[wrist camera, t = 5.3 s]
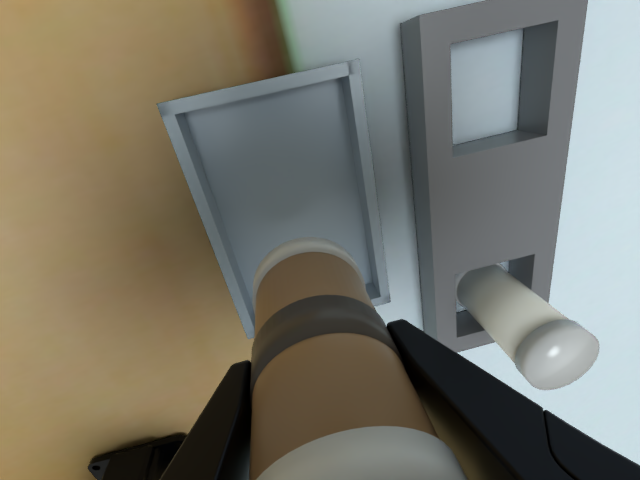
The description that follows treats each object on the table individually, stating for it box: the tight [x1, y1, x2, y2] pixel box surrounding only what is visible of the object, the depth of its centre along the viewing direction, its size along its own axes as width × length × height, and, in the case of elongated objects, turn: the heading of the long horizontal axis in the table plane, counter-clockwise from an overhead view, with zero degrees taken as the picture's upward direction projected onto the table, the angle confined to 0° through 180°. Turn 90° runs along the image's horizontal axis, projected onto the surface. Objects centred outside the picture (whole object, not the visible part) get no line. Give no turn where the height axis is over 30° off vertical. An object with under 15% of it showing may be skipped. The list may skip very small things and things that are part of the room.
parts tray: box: [157, 59, 391, 339], centre depth 16 cm, size 12×8×2 cm, turn 11°
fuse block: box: [400, 0, 588, 353], centre depth 18 cm, size 18×7×2 cm, turn 11°
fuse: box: [455, 263, 599, 390], centre depth 18 cm, size 3×3×7 cm
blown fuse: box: [249, 237, 468, 480], centre depth 8 cm, size 3×3×7 cm
